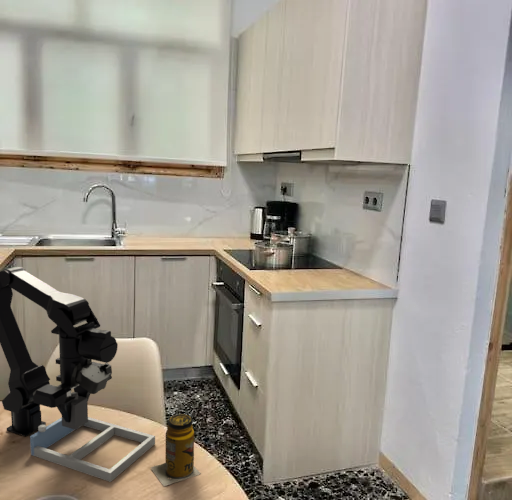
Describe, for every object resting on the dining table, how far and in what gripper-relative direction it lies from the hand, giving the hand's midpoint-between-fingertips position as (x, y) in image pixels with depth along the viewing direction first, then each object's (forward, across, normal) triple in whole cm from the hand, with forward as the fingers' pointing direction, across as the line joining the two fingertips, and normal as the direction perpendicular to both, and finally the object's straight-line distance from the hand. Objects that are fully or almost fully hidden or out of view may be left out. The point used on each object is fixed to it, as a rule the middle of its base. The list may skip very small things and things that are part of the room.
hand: (74, 417), depth 117 cm
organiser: (+6, 0, -6) cm, 9 cm away
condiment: (+7, +1, -27) cm, 27 cm away
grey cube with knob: (+2, 0, 0) cm, 2 cm away
